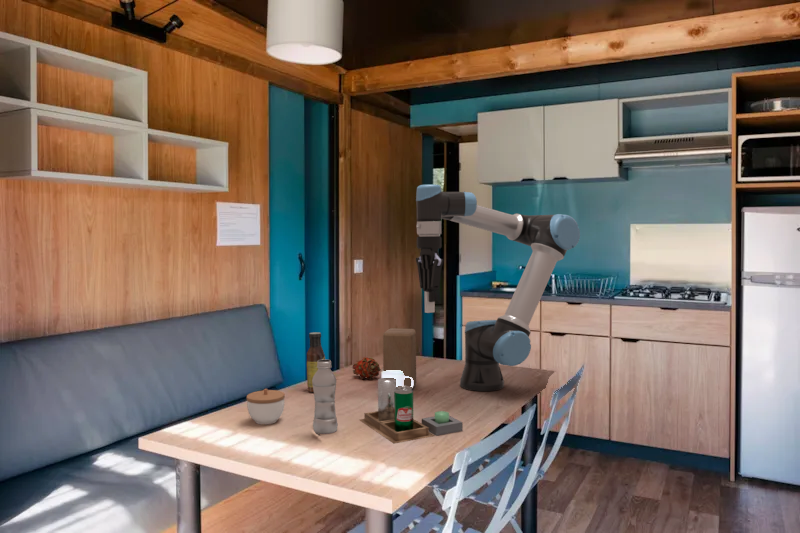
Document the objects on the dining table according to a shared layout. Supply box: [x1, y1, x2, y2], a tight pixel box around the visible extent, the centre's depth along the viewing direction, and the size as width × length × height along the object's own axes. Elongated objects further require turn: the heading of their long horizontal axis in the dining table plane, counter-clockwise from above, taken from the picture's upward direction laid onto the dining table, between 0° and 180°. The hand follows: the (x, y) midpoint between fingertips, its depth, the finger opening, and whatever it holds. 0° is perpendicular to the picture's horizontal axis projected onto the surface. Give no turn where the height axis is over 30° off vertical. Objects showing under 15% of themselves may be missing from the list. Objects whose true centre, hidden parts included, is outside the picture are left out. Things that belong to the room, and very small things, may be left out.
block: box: [382, 327, 417, 387], centre depth 213 cm, size 10×10×20 cm
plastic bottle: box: [312, 358, 339, 436], centre depth 164 cm, size 6×7×20 cm
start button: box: [434, 410, 450, 424], centre depth 165 cm, size 4×4×3 cm
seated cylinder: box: [377, 377, 396, 421], centre depth 171 cm, size 5×5×12 cm
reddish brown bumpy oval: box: [352, 356, 382, 380], centre depth 227 cm, size 8×8×12 cm
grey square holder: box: [421, 415, 464, 437], centre depth 165 cm, size 8×8×4 cm
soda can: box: [394, 386, 414, 432], centre depth 162 cm, size 5×5×12 cm
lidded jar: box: [246, 388, 286, 425], centre depth 176 cm, size 11×11×9 cm
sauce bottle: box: [306, 331, 326, 393], centre depth 209 cm, size 6×6×20 cm
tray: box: [359, 410, 435, 444], centre depth 167 cm, size 12×22×3 cm, turn 27°
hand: (429, 312), depth 189 cm, fingers closed
